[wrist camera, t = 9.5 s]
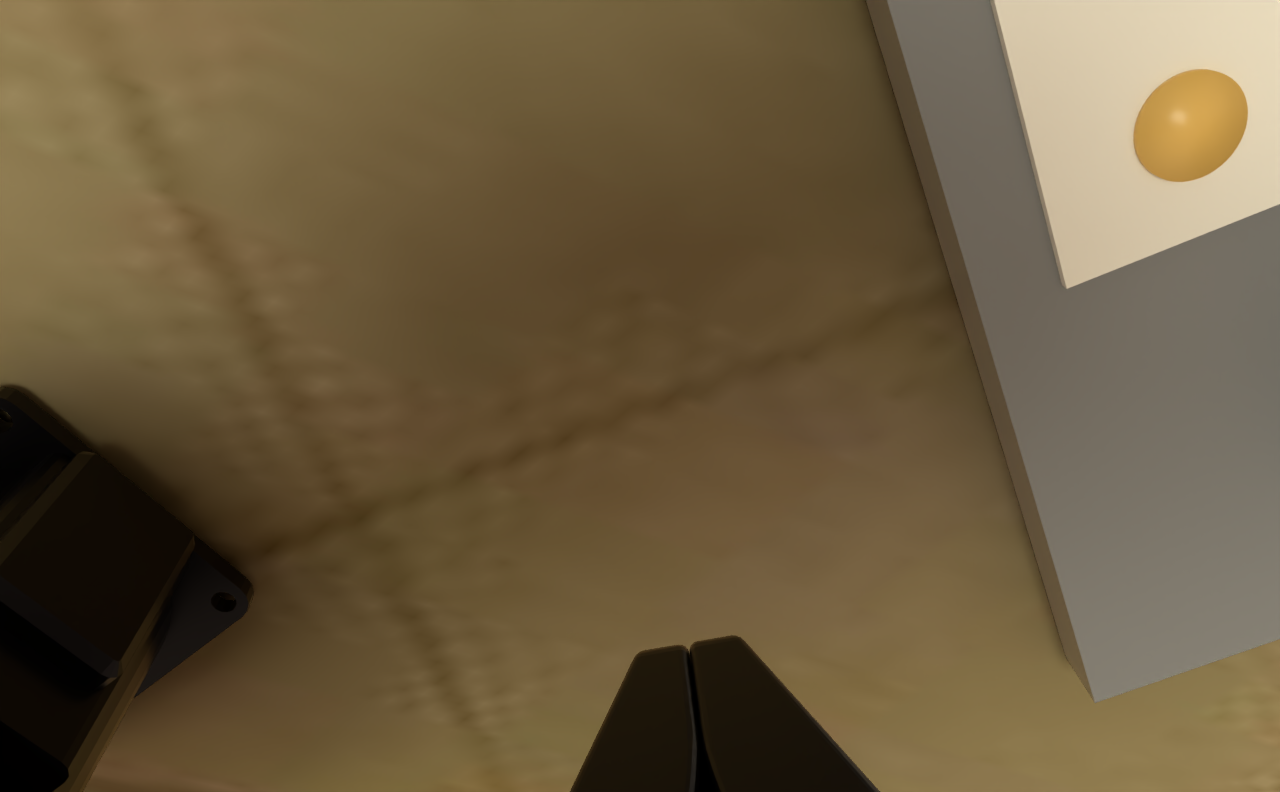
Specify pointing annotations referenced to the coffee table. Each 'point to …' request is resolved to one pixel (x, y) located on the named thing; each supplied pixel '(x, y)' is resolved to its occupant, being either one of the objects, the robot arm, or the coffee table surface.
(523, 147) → the coffee table surface
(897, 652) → the coffee table surface
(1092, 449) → the button panel
